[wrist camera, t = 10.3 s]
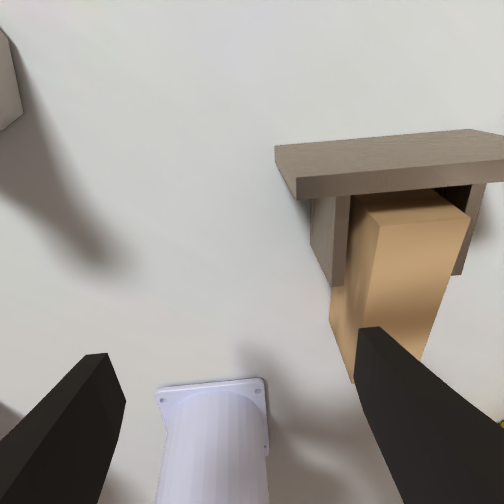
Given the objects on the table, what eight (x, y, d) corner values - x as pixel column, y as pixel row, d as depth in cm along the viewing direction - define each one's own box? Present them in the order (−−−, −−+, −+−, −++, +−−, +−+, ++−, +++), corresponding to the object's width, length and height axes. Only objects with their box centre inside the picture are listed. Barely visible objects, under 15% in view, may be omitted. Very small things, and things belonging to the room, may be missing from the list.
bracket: (445, 232, 19) (528, 290, 14) (278, 247, 19) (297, 312, 14) (469, 128, 16) (584, 152, 11) (274, 145, 16) (296, 177, 11)
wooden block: (342, 179, 16) (380, 226, 12) (410, 173, 16) (471, 218, 12) (328, 320, 22) (351, 383, 18) (379, 315, 22) (413, 377, 18)
